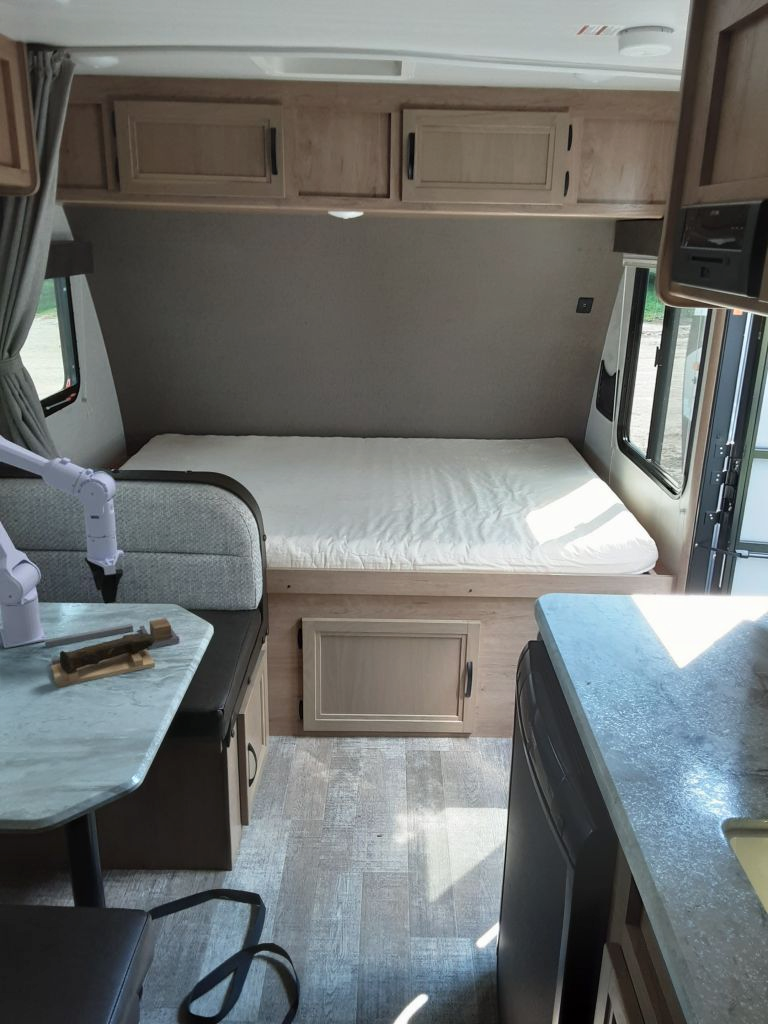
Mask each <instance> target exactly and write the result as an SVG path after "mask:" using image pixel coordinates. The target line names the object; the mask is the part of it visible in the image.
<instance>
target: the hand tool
mask: <svg viewBox="0 0 768 1024" xmlns="http://www.w3.org/2000/svg"><path fill="white" fill-rule="evenodd" d="M154 642H155V639H154V637H153V636H152V635H150V633H148V634H145V633H134V634H133V633H132V634H131V633H130V634H125V635H123V636H122V637H120V638H116V639H112V640H109V641H108V640H107V641H103V642H100V643H97V644H93V645H89V646H84V647H82V648H79V649H76V650H75V649H74V650H71V651H64V650H61V651H60V652H59V657H60V664H61V667H62V669H63V670H64V671H65V672H66V673H67V674H69V673H71V672H73V671H74V670H75V669H77V668H80V667H84V666H86V665H91V664H98V663H99V662H100V661H103V660H106V659H109V658H113V657H116V656H119V655H122V654H125V653H129V652H131V653H135V652H138V651H142V650H144V649H146V650H147V649H149V648H151V646H152V645H153V644H154Z"/></svg>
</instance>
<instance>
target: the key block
mask: <svg viewBox="0 0 768 1024" xmlns="http://www.w3.org/2000/svg"><path fill="white" fill-rule="evenodd" d="M171 628H172V625H171V623H170V622H169V621H168V619H167V618H166V617H164V618H160V619H153V620H149V631H150V632H149V634H150V635H152V636H153V637H154V639H155V640H159V639H164V638H169V637H171Z"/></svg>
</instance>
